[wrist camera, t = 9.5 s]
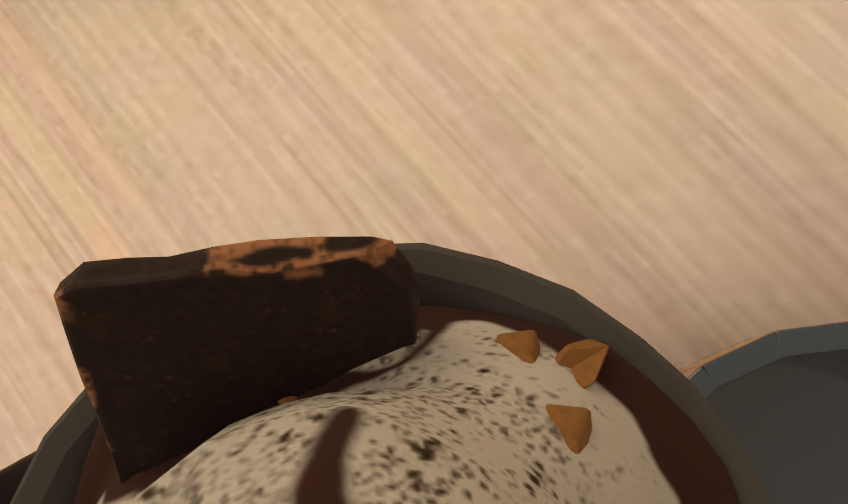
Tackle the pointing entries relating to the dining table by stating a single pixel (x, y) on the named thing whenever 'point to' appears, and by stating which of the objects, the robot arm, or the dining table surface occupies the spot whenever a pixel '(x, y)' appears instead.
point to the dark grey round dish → (786, 408)
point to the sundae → (367, 387)
